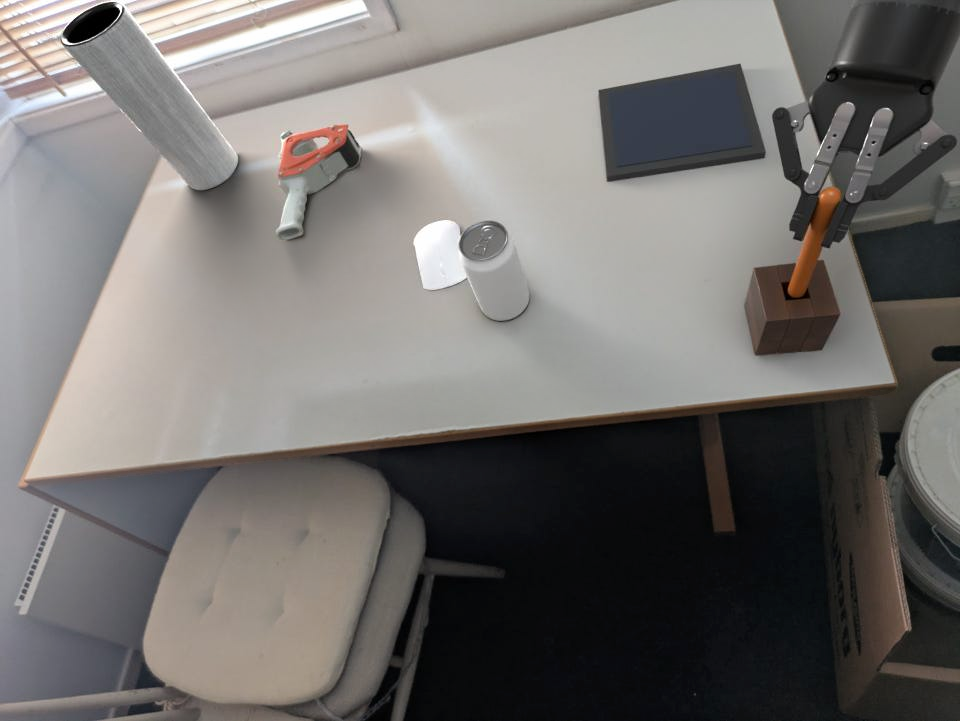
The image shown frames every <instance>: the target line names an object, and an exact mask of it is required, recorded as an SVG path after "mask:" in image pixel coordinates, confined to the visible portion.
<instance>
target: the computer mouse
mask: <svg viewBox="0 0 960 721" xmlns="http://www.w3.org/2000/svg"><path fill="white" fill-rule="evenodd" d="M460 237H461V229H460V225H459V224H458V223H457V222H455V221H452V220H450V219H445V220H443V219H442V220H437V221H435V222H431V223H429V224H427V225H425V226H424V227H422V229H420V230H419V231H418V233H417V234H416V236H415V237H414V239H413V245H414V250H415V256H416V261H417V264H418V265H417V266H418V269H419V274H420V280H421V283H422V288H423V289H425V290H428V291H439V290H442V289H446V288H450V287H452V286H455V285H457V284H459V283H461V282H463V281H464V280H466V279H468V278H467V276H466V273H465V271H464V269H463V266H462V264H461V261H460V258H459V239H460Z"/></svg>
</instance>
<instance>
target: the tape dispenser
mask: <svg viewBox="0 0 960 721" xmlns="http://www.w3.org/2000/svg"><path fill="white" fill-rule="evenodd" d="M316 138H317V139H319V138H327V139H328V140H329V141H328V143H327V144H325V145H324V146H323V145H322V146H321V147H319V145H318V144H317V143H316V142H315V140H314V139H316ZM280 140H281V148H280V151H279V153H278V158H279V159H280V164H279V169H278V172H277V178H278V187H279V188H280V189H281V190H282V191H283V193H285V194H288V195H287V197H286V200H285V203H284V207H283V210H282V214H281V218H280V225H279V226H278V228H277V229H276V230H275V234H274V235H275V236H276V238H277V239H279V240H281V241H290V240H293V239H295V238H298V237H300V236H302V235H303V234H304V228H303V222H304V220H305V211H306V203H307V201H308V199H307V195H309V194H315V193H318V192H319V191H321V190H322V189H323V188H324V187H326V186H327V185H329V184H331V183H332V182H333V181H335V180H336V179H337V177H338V174H339V173H341V172H342V171H343V170H345V169H346V170H353V169H355V168H357V167H358V165H359V164H360V160H361V156H362V151H363V147H362V145H360V144H359V142H358V141H357V139H356V137H355V136H354V134H353V133H352V131H351V130H350V129H349V124H332V125H331V126H327V127H323V128H318V129H313V130H309V131H302V132H297V133H295V132H294V131H292V130H290V129H289V130H286V131H284V132H282V134H281V135H280Z"/></svg>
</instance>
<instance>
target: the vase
mask: <svg viewBox="0 0 960 721" xmlns="http://www.w3.org/2000/svg"><path fill="white" fill-rule="evenodd" d="M60 43H61V44H60V45H61V46H62V47H63V48H64V49H65V50H66V51H67V52H68V54H70V55H71V57H72V58H73V59H74V60H75V61H76V62H77V63H78V64H79V65H80V67H81V68H82V69H83V71H85V72H86V74H88V76H90V78H91V79H92V80H93V82H95V84H97V86H99V88H100V89H101V90H102V92H104V94H106V95H107V96H108V98H109V99H110V100H111V101H112V102H113V104H115V106H116V107H117V108H118V109H119V110H120V111H121V112H122V114H123V115H125V117H126V118H127V119H128V120H129V121H130V122H131V123H132V124H133V125H134V127H135V128H136V129H137V130H138V132H140V133H141V134H142V135H143V137H144V138H145V139H146V140H147V141H148V142H149V143H150V144H151V146H152V147H153V148H154V149H155V150H156V151H157V153H159V155H160V156H161V157H162V158H163V159H164V160H165V162H167V163H168V164H169V165H170V167H171V168H172V169H173V170H174V171H175V172H176V173H177V175H178V176H180V178H181V179H182V180H183V181H184V182H185V183H186V184H187V186H188V187H190V188H191V189H193V190H196V191H205V190H206V191H207V190H209V189H214V188H216V187H217V186H219V185H222V184H223V183H224V182H226V180H228V179H229V178H230V177H231V176H232V175H233V174H234V172H235V170H236V168H237V166H238V163H239V157H238V154H237V153H236V151H235V149H234V148H233V147H232V145H231V144H230V143H229V142H228V140H227V139H226V137H225V136H224V135H223V133H222V132H221V131H220V130H219V128H218V127H217V126H216V124H215V123H214V122H213V120H212V119H211V117H209V116H210V115H208V114H207V112H206V111H205V109H204V108H203V107H202V106H201V105H200V103H199V101H198V100H197V99H196V98H195V96H194V95H193V93H191V91H190V90H189V89H188V88H187V86H186V84H185V83H184V82H183V81H182V79H181V78H180V77H179V76H178V74H177V73H176V71H175V70H174V69H173V67H172V66H171V65H170V63H169V62H168V61H167V60H166V58H165V57H164V55H163V54H162V53H161V51H160V50H159V49H158V48H157V46H156V45H155V44H154V42H153V41H152V40H151V39H150V37H149V36H148V35H147V33H146V32H145V30H144V29H143V28H142V27H141V25H140V24H139V23H138V22H137V20H136V19H135V17H134V16H133V14H132V13H131V12H130V10H129V9H128V8H127V7H126V5H125V4H124V3H122V2H120V1H116V0H110V1H104V2H101V3H98V4H95V5H93V6H91V7H88V8H87V9H85V10H84V11H82V12H80V13H79V14H77V15H76V16H75V17H74V18H72V20H70V21H69V22H68V23H67V24H66V26H64V28H63V30H62V32H61V34H60Z"/></svg>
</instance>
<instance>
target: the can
mask: <svg viewBox="0 0 960 721" xmlns="http://www.w3.org/2000/svg"><path fill="white" fill-rule="evenodd" d="M459 258H460V261H461V264H462V266H463V269H464V271H465V273H466V276H467V278H466V279H467V280H468V282H469V283H468V284H469V285H470V287H471V290H472V292H473V294H474V297H475V299H476V301H477V303H478V306H479V309H480V310H481V312H482V313H483V314H484V316H486V317H487V318H488V319H491V320H494V321H498V322H499V321H500V322H501V321H509V320H512V319H515V318H516V317H518V316H519V315H521V314H522V313H523V312H524V311H525V310H526V308H527V306H528V304H529V302H530V292H529V288H528V284H527V280H526V277H525V274H524V270H523V266H522V264H521V259H520V256H519V253H518V249H517V246H516V243H515V240H514V238H513V236H512V234H511V233H510V232H509V231H508V230H507V228H506V227H505V225H504V224H502V223H500V222H499V221H497V220H490V219H488V220H486V219H485V220H480V221H477V222H474V223H473V224H471V225H469V226H468V227H466V228H465V229H464V231H463V232H462V234H460V239H459Z"/></svg>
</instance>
